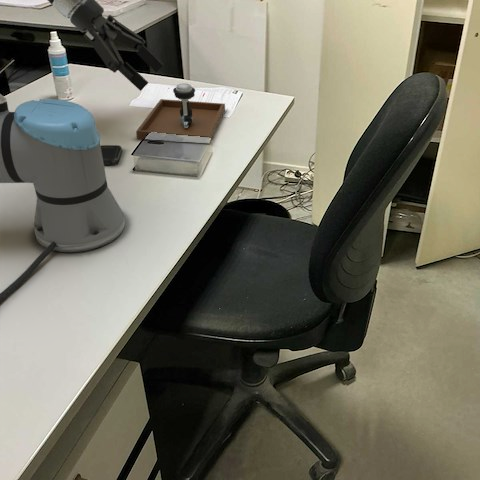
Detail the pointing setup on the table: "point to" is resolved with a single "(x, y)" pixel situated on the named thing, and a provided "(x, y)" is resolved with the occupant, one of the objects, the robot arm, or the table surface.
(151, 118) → the tray
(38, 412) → the table surface
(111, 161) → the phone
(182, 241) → the table surface
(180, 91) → the push button
